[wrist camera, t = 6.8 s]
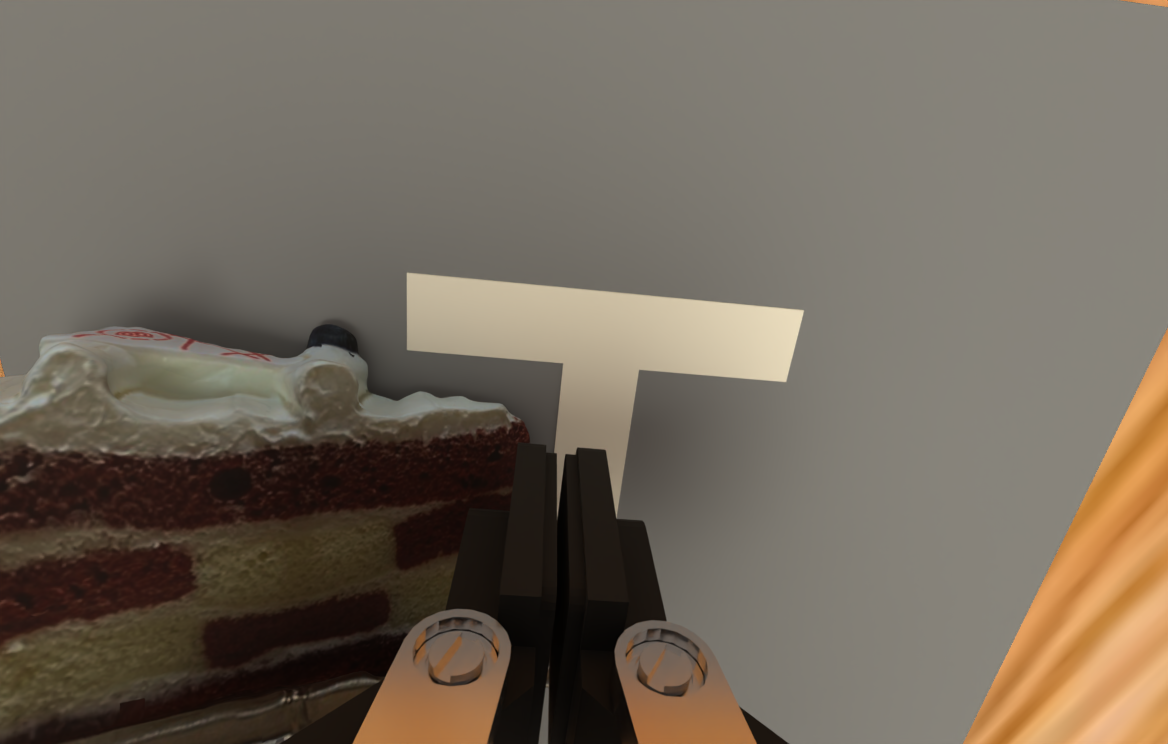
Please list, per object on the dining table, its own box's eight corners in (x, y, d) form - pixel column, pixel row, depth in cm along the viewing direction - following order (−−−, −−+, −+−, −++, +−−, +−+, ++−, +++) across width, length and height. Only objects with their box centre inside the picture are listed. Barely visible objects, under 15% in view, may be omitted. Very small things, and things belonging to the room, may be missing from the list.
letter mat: (943, 774, 18) (946, 780, 18) (110, 749, 16) (106, 755, 16) (1307, 29, 11) (1317, 27, 11) (-141, -180, 9) (-152, -184, 9)
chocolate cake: (635, 335, 13) (-539, 325, 4) (620, 653, 13) (-415, 1327, 4) (390, 320, 19) (-269, 302, 10) (388, 537, 20) (-233, 709, 10)
